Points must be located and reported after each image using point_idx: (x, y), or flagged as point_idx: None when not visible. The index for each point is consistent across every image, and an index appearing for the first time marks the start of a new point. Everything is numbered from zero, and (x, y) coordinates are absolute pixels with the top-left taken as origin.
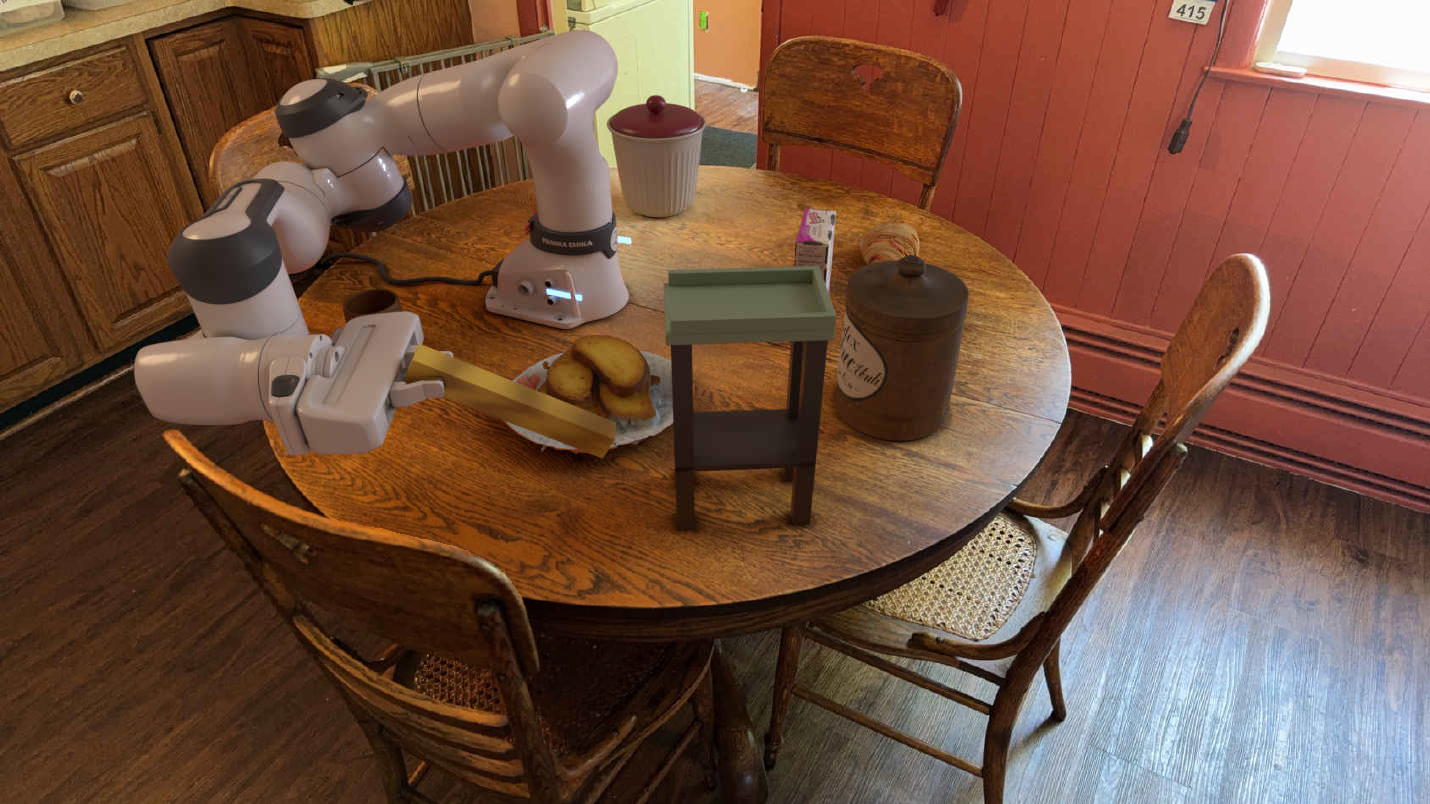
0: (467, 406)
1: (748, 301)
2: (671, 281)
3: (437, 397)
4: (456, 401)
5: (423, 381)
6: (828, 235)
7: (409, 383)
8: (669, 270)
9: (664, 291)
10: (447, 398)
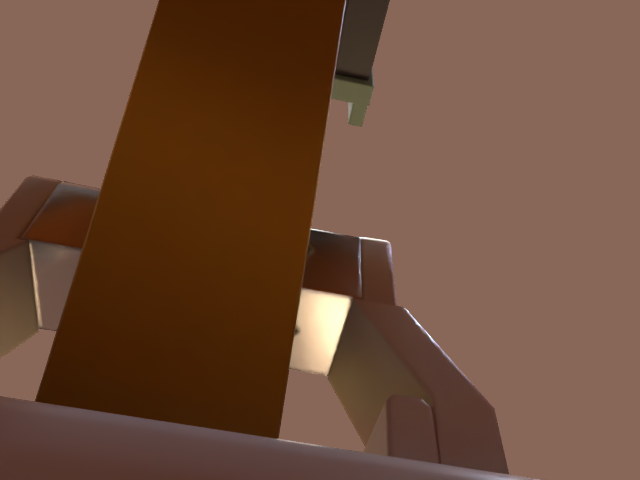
0: (157, 11)
1: None
2: (351, 107)
3: (14, 192)
4: (137, 76)
5: (24, 328)
6: None
7: (36, 396)
8: (357, 125)
9: (337, 99)
10: (120, 125)
